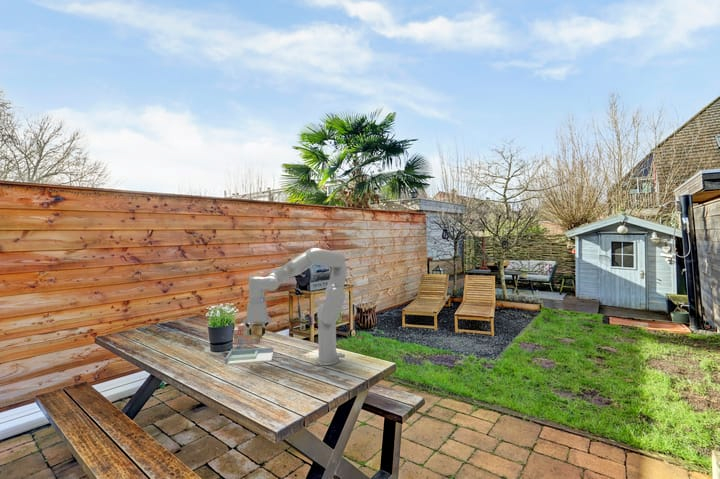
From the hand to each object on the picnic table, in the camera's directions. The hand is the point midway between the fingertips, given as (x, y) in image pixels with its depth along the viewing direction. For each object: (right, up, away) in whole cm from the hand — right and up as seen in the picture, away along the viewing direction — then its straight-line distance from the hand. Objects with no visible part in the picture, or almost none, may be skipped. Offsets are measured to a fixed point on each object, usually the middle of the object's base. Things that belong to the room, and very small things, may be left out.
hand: (257, 335), depth 174 cm
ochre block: (0, -1, 0) cm, 1 cm away
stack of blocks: (-23, -18, +44) cm, 53 cm away
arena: (-9, -17, +15) cm, 25 cm away
